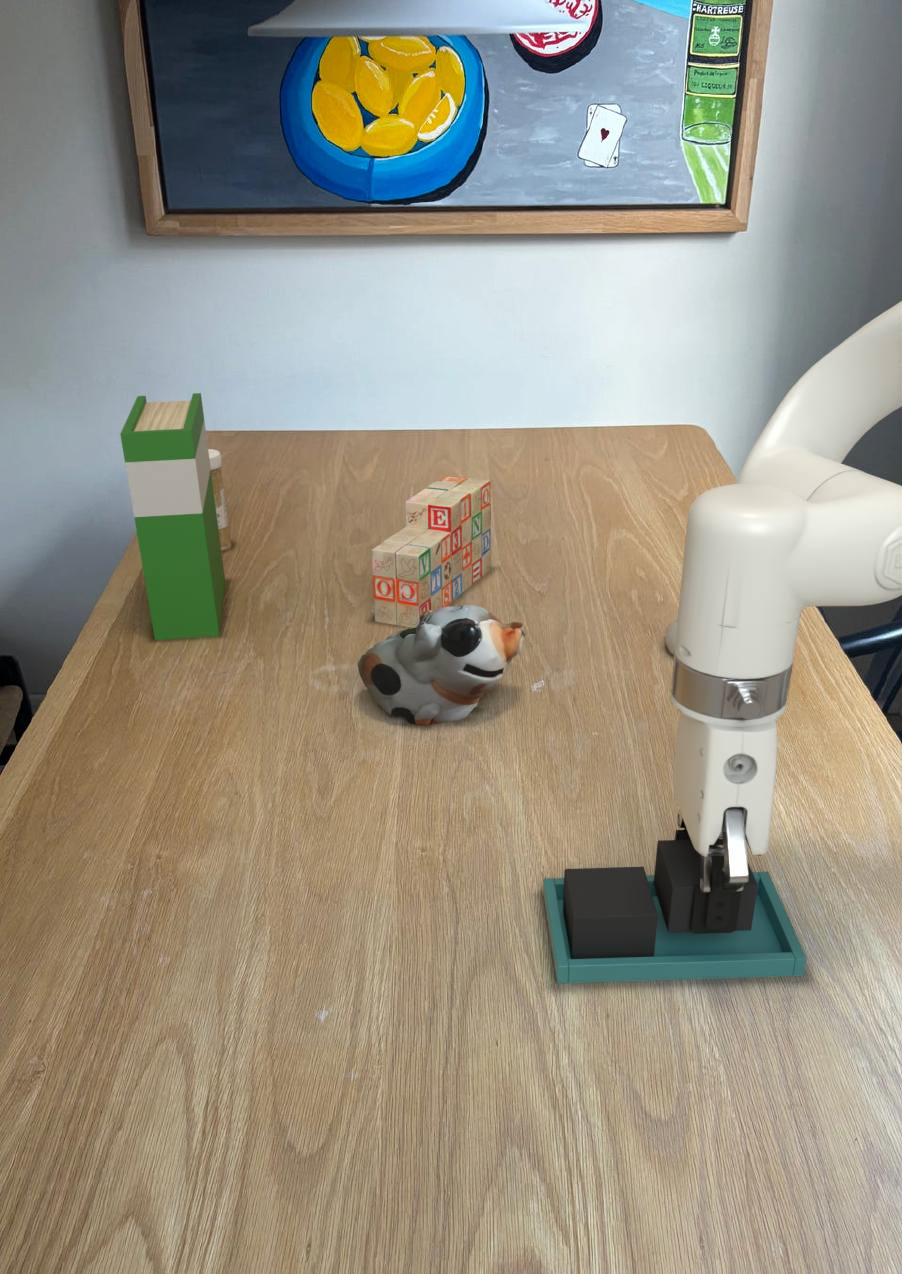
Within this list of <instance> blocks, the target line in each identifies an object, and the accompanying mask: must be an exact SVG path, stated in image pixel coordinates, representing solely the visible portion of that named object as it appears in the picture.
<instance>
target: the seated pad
mask: <svg viewBox="0 0 902 1274" xmlns="http://www.w3.org/2000/svg"><path fill="white" fill-rule="evenodd" d="M563 875H564V876H563V878H564V894H563V914H564V920H565V926H566V931H567V937H568V943H569V949H570V954H571V959H595V958H627V957H654V950H655V940H656V929H657V919H658V914H657V911H656V907H655V904H654V900H653V897H652V893H651V890H650V886H649V883H648V880H647V876H646V875H647V873H646V870H645V867H644V866H617V867H586V868H564V873H563Z"/></svg>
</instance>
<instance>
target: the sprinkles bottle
mask: <svg viewBox="0 0 902 1274" xmlns="http://www.w3.org/2000/svg"><path fill="white" fill-rule="evenodd" d="M208 452H209V460H210V468H211V476H212V483H213V491H214V499H215V506H216V514H217V522H218V530H219V537H220V545H221V552H224V551H226V550H229V549H230V548H231V547H232V542H231V539H230V531H229V520H228V519H229V518H228V511H227V503H226V495H225V487H224V482H223V477H222V476H223V474H222V473H223V472H222V465H223V464H222V456H221V452H220V451H219V450H217V449H212V448H208Z"/></svg>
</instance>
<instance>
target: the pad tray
mask: <svg viewBox="0 0 902 1274" xmlns="http://www.w3.org/2000/svg"><path fill="white" fill-rule="evenodd" d="M752 873H753V875H754V878H755V880H756V882H757V885H758V889H757V895H756V902H755V908H754V915H753V921H752V927H751V930H746V931H734V932H732V933H702V934H695V933H693V932H673V933H668V931H667V927H666V924H665V921H664V917H663V914H662V910H661V907H660V904H659V900H658V897H657V894H656V890H655V887H654V874H646V876H647V880H648V883H649V886H650V890H651V893H652V897H653V900H654V904H655V907H656V911H657V914H658V919H657V929H656V940H655V950H654V957H627V958H595V959H571V954H570V949H569V943H568V937H567V931H566V926H565V920H564V914H563V894H564V877H554V878H553V877H552V878H551V877H550V878H549V877H547V878H546V877H545V878H543V885H542V886H543V887H542V889H543V890H542V895H543V902H544V903H543V904H544V908H545V916H546V922H547V928H548V929H547V930H548V934H549V940H550V948H551V955H552V960H553V967H554V973H555V979H556V984H582V983H583V984H584V983H586V984H587V983H611V982H612V983H614V982H615V983H616V982H646V981H647V982H648V981H673V980H674V981H676V980H678V981H680V980H681V981H682V980H706V979H707V980H709V979H712V980H713V979H738V978H739V979H740V978H741V979H743V978H744V979H745V978H771V977H774V978H775V977H800V976H804V975H805V970H806V965H807V959H808V958H807V956H806V954H805V952H804V949H803V947H802V944H801V942H800V940H799V938H798V936H797V933H796V931H795V929H794V927H793V924H792V922H791V920H790V918H789V916H788V915H789V914H787V911H786V909H785V906H784V905H783V902H782V899H781V897H780V896H779V893H778V890H777V889H776V886H775V884H774V882H773V880H772V878H771V875H770V873H769V871H752Z"/></svg>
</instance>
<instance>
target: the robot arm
mask: <svg viewBox="0 0 902 1274" xmlns="http://www.w3.org/2000/svg"><path fill="white" fill-rule="evenodd" d="M900 408H902V300H901V301H899V302H897V303H896V304H895V305H893V306H892V307H890V308H889V309H886V310H885V311H883V312H882V313H880V314H879V315H878V316H876V317H874V318H872V319H871V320H870V321H869V322H867V323H866V324H864V325H863V326H861V327H860V328H859V329H857V330H856V331H855V332H854V333H853V334H851V335H850V336H848V337H847V338H845V339H844V340H843V341H842V342H841V343H840V344H838V345H837V346H836V347H834V348H833V349H832V350H830V351H829V352H828V353H827V354H825V355H824V356H822V357H821V359H819V360H818V361H817V362H815V364H813V365H812V366H811V367H810V368H809V369H808V370H807V371H806V372H805V373H804V374H803V375H802V376H801V377H800V378H799V379H798V380H797V381H796V382H795V384H793V386H792V387H791V388H790V390H788V392H787V393H786V395H785V396H784V397H783V398H782V400H781V401H780V403H779V404H778V406H777V407H776V409H775V411H774V412H773V413H772V416H771V417H770V418H769V420H768V422H767V423H766V425H765V426H764V428H763V430H762V432H761V433H760V434H759V437H758V438H757V440H756V441H755V443H754V445H753V446H752V448H751V450H750V451H749V453H748V455H747V457H746V458H745V461H744V462H743V465H742V467H741V469H740V471H739V473H738V475H737V477H736V480H735V483H732V484H725V485H721V486H716V487H712V488H710V489H708V490H706V491H704V492H702V493H701V494H700V495H698V496H697V497H696V498H695V500H694V502H693V503H691V507H689V508H690V509H689V512H688V515H687V520H686V527H685V538H684V547H683V548H684V549H683V559H682V569H681V580H680V590H679V601H678V612H677V619H678V621H677V632H676V643H675V651H674V655H673V663H672V664H673V665H672V673H671V674H672V675H671V682H670V683H671V684H670V693H669V699H670V702H671V704H672V706H673V707H674V708H675V709H676V710H677V711H679V717H678V722H677V723H678V724H677V731H676V737H675V747H674V757H673V769H672V771H673V772H672V785H673V791H674V796H675V800H676V803H677V805H678V811H677V816H676V823H677V827H678V829H675V835H674V840H691V841H692V844H693V846H694V848H695V850H696V851H697V852H698V853H699V854H700V884H695V885H694V894H693V902H692V910H691V919H690V928H691V931H692V932H693V933H695V934H702V933H732V932H734V931H735V930H736V926H737V919H738V913H739V906H740V899H741V892H742V891H743V885H744V884H746V883H747V882H748V878H749V874H748V863H749V861H748V853H747V851H748V850H747V846H748V848H749V851H750V853H751V855H752V856H760V857H761V856H764V855H765V854H766V853H767V852H768V850H769V845H770V839H771V830H772V820H773V811H774V800H775V790H776V780H777V779H776V778H777V766H778V765H777V764H778V723H777V720H778V719H779V718H780V717H781V716H783V714H784V713H785V712H786V710H787V706H788V705H787V704H788V697H789V690H790V685H791V678H792V673H793V672H792V671H793V666H794V658H795V650H796V646H797V645H796V644H797V639H798V632H799V625H800V619H801V614H802V612H803V611H804V610H805V609H807V608H809V607H863V606H873V605H878V604H879V605H880V604H882V603H885V602H886V603H887V602H889V601H892V600H894V599H897V598H899V597H901V596H902V485H900V484H898V483H895V482H892V481H890V480H887V479H884V478H881V477H879V476H876V475H873V474H869V473H867V472H866V471H863V470H861V469H858V468H855V467H853V466H849V465H847V464H844V463H842V462H843V461H845V458H846V457H847V455H848V454H849V453H850V451H852V449H853V448H854V446H855V445H856V444H857V443H858V442H859V441H860V440H861V438H862V437H863V436H864V435H865V434H866V433H867V432H868V431H870V429H872V428H873V427H874V426H875V425H876V424H877V423H879V422H880V421H881V420H883V419H884V418H886V417H887V416H888V415H890V414H892V413H893V412H895V411H896V410H898V409H900ZM717 839H723V845H714V844H715V842H716V840H717ZM712 857H724V867H723V868H722V870H716V871H715V872H713V873H712V874H711V869H712ZM747 861H748V862H747Z"/></svg>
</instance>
